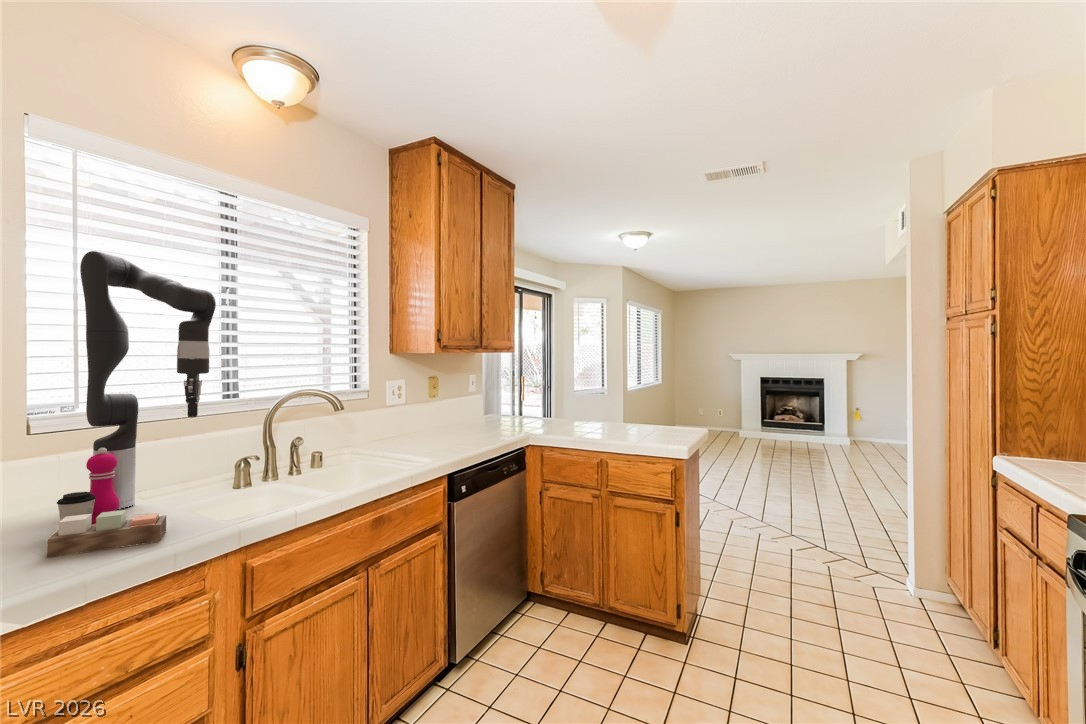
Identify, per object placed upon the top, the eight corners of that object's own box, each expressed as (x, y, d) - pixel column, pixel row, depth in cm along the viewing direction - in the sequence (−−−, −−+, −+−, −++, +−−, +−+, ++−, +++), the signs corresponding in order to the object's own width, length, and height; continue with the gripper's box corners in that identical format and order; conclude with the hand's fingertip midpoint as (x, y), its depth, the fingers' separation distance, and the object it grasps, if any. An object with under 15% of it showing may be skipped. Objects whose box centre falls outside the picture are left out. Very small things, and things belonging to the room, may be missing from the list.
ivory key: (58, 542, 105) (58, 522, 105) (65, 536, 109) (65, 516, 109) (85, 538, 107) (85, 519, 107) (91, 532, 111) (91, 513, 111)
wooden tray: (46, 557, 103) (47, 538, 103) (60, 545, 110) (60, 527, 110) (160, 541, 113) (160, 523, 113) (166, 531, 120) (166, 514, 120)
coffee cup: (103, 531, 119) (103, 491, 119) (71, 541, 112) (72, 499, 112) (80, 529, 120) (81, 489, 120) (47, 539, 113) (48, 497, 113)
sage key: (95, 537, 108) (96, 517, 108) (101, 531, 112) (101, 512, 112) (121, 534, 110) (121, 514, 110) (125, 528, 114) (126, 509, 114)
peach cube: (131, 540, 111) (131, 521, 111) (135, 534, 115) (135, 515, 115) (154, 536, 114) (155, 518, 114) (158, 531, 117) (158, 513, 117)
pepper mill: (96, 529, 120) (97, 450, 120) (74, 526, 122) (75, 449, 122) (126, 520, 127) (127, 446, 128) (105, 518, 129) (106, 444, 129)
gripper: (180, 357, 140) (179, 415, 140) (173, 356, 129) (172, 420, 129) (211, 357, 144) (210, 414, 144) (207, 357, 133) (206, 418, 133)
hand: (192, 416), depth 137 cm, fingers closed
